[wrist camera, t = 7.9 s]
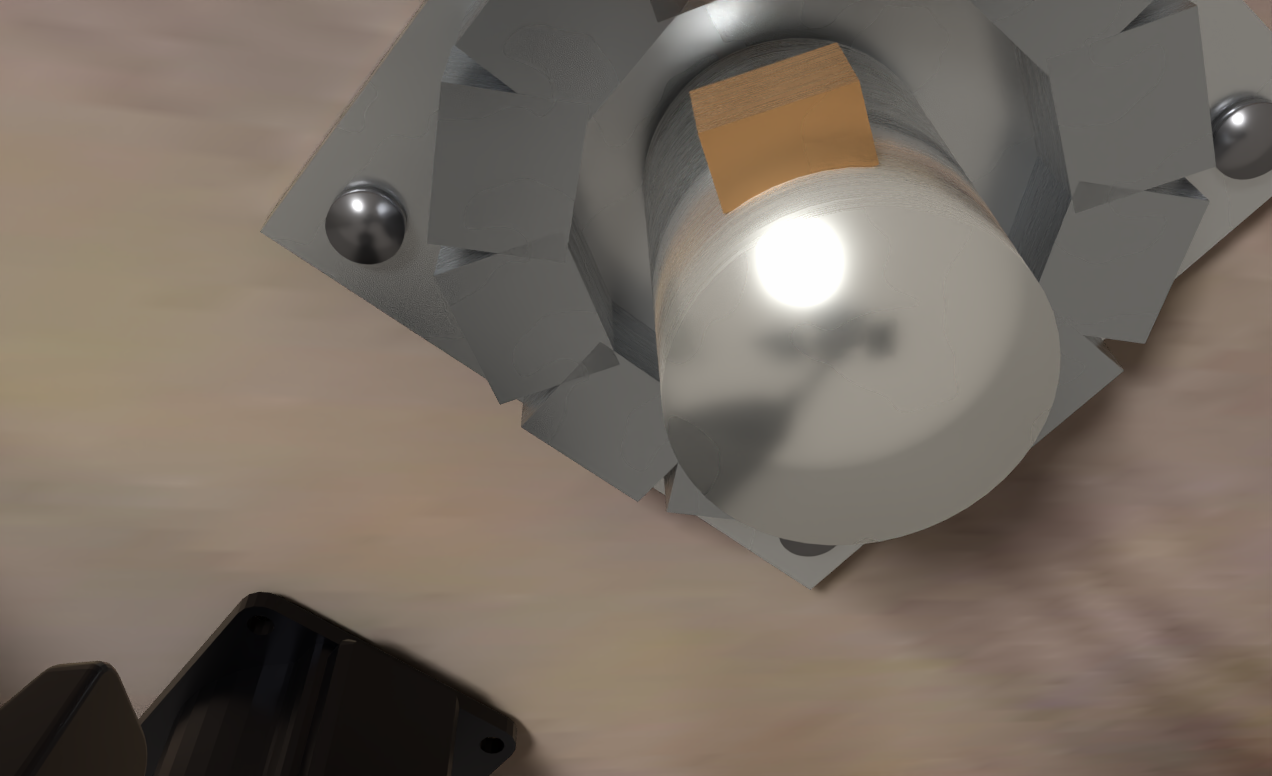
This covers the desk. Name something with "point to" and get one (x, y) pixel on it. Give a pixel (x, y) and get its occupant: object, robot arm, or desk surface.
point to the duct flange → (615, 160)
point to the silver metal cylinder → (835, 302)
